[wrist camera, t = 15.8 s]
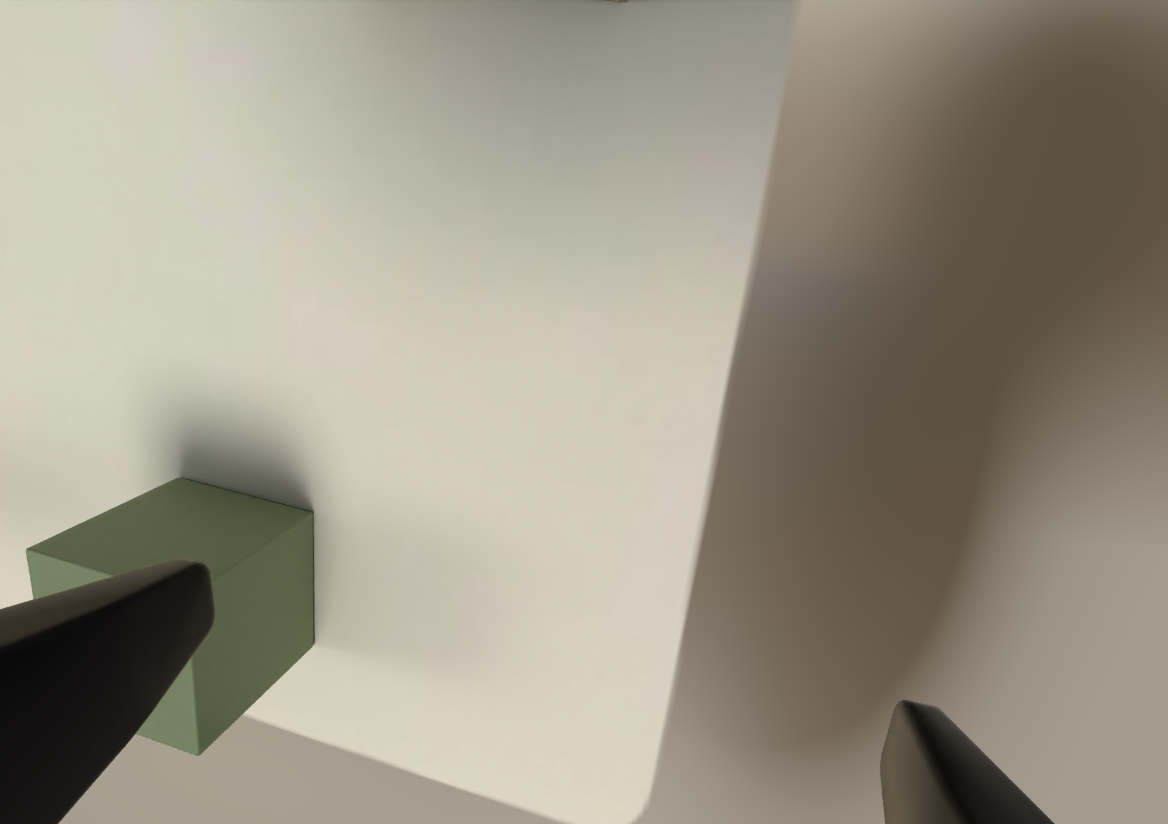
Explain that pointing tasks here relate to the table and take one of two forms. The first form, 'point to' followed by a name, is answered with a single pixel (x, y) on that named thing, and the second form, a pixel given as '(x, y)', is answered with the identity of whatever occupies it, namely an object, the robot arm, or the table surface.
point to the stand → (618, 0)
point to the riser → (240, 587)
